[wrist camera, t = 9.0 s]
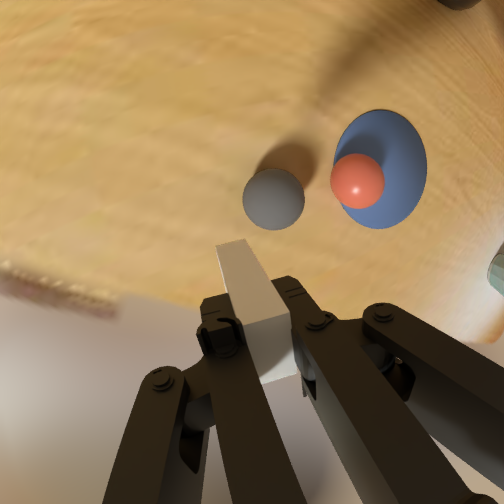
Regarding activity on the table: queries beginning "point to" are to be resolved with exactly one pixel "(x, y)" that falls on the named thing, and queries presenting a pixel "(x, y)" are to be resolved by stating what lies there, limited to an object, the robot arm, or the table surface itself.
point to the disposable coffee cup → (497, 273)
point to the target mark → (387, 165)
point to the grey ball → (273, 199)
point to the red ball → (357, 181)
